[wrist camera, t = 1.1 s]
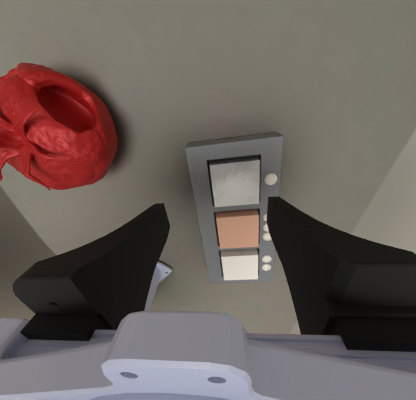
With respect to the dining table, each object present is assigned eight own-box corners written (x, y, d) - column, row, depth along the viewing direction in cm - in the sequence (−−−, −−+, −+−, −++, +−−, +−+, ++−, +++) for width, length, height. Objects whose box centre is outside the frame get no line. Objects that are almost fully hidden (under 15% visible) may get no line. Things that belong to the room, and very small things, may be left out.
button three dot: (255, 236, 22) (258, 246, 21) (220, 238, 23) (220, 248, 21) (255, 206, 20) (258, 214, 18) (216, 209, 21) (216, 218, 19)
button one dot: (255, 195, 19) (259, 203, 18) (215, 199, 20) (214, 207, 18) (255, 155, 17) (259, 160, 16) (210, 160, 18) (209, 165, 16)
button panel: (267, 267, 27) (272, 282, 25) (210, 269, 28) (210, 284, 26) (275, 132, 17) (284, 136, 15) (188, 142, 18) (184, 148, 16)
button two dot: (255, 268, 25) (257, 279, 23) (223, 269, 26) (224, 280, 24) (255, 244, 23) (258, 255, 21) (221, 246, 23) (221, 256, 22)
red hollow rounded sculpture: (123, 183, 22) (68, 233, 14) (38, 153, 20) (-82, 189, 12) (136, 97, 17) (61, 96, 9) (24, 49, 15) (-190, -5, 7)
